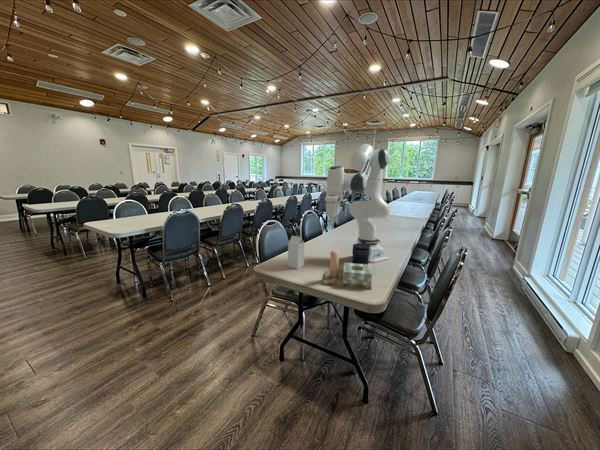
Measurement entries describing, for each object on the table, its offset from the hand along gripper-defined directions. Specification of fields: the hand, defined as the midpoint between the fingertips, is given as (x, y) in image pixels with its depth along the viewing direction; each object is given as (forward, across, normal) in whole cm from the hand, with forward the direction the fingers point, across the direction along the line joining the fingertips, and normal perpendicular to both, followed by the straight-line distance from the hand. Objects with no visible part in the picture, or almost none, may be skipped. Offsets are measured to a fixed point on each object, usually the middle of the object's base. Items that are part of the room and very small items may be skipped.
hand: (333, 223), depth 133 cm
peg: (+28, +3, +2) cm, 29 cm away
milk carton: (+30, -8, -23) cm, 39 cm away
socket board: (+30, +2, +10) cm, 31 cm away
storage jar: (+30, -17, +14) cm, 37 cm away
